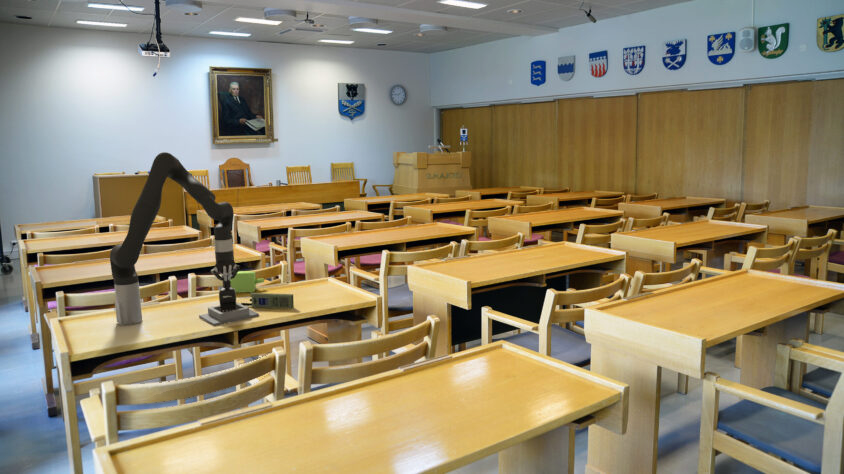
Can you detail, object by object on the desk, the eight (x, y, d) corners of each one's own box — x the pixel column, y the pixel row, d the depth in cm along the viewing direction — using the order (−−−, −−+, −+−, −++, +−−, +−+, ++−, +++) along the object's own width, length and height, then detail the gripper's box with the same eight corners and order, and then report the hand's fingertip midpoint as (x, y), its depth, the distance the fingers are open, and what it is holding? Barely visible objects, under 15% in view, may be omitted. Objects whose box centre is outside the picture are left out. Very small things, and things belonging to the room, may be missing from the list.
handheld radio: (291, 309, 281) (239, 307, 285) (294, 308, 284) (242, 306, 288) (291, 295, 280) (238, 293, 284) (293, 293, 283) (241, 291, 287)
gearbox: (265, 287, 320) (265, 269, 319) (263, 292, 311) (262, 273, 309) (229, 288, 318) (228, 270, 317) (225, 293, 308) (225, 274, 307)
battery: (220, 316, 268) (218, 290, 266) (220, 313, 272) (218, 288, 269) (237, 314, 270) (235, 289, 268) (237, 312, 273) (235, 287, 271)
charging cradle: (214, 326, 258) (213, 316, 258) (199, 317, 270) (198, 308, 269) (258, 315, 271) (258, 307, 271) (242, 308, 283) (241, 299, 282)
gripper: (212, 253, 258) (215, 293, 262) (242, 248, 267) (245, 287, 270) (205, 250, 264) (208, 290, 267) (234, 246, 272) (237, 284, 276)
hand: (227, 288), depth 269 cm, fingers closed
